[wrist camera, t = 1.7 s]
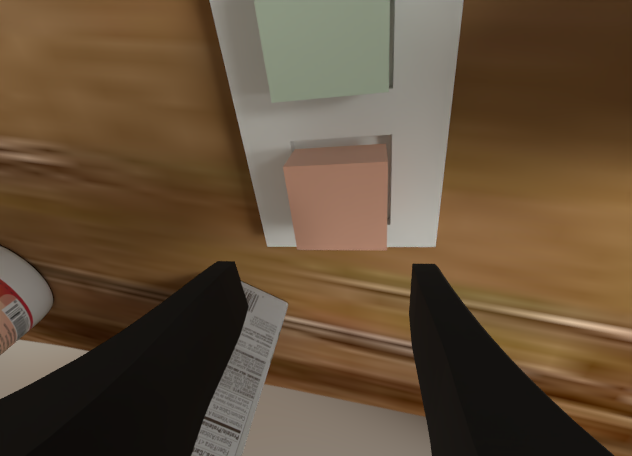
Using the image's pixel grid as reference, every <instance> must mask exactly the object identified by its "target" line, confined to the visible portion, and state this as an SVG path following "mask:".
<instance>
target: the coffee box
mask: <svg viewBox="0 0 632 456" xmlns="http://www.w3.org/2000/svg"><path fill="white" fill-rule="evenodd" d="M241 283H242V287H243V290H244V293H245V296H246V299H247V303H248V306H249V308H248V311H247V315H246V318H245V322H244V325H243V328H242V331H241V335H240V337H239V339H238V342H237V344H236V346H235V349H234V351H233V353H232V355H231V358H230V360H229V362H228V364H227V367H226V369H225V371H224V373H223V376H222V378H221V380H220V382H219V384H218V387H217V389H216V391H215V393H214V396H213V398H212V400H211V402H210V405H209V407H208V410H207V412H206V415H205V417H204V420H203V423H202V425H201V428H200V431H199V434H198V437H197V440H196V443H195V446H194V449H193V452H192V455H191V456H242V453H243V450H244V447H245V443H246V440H247V437H248V434H249V431H250V427H251V424H252V421H253V417H254V414H255V411H256V408H257V404H258V402H259V398H260V395H261V392H262V388H263V385H264V382H265V379H266V376H267V372H268V369H269V366H270V363H271V359H272V356H273V353H274V350H275V346H276V343H277V340H278V337H279V334H280V331H281V327H282V324H283V321H284V317H285V314H286V311H287V307H288V303H287V302H285V301H283V300H281V299H278V298H276V297H274V296H272V295H270V294H268V293H265V292H263V291H261V290H259V289H257V288H255V287H252V286H250V285H248V284H246V283H244V282H241Z"/></svg>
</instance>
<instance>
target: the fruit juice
mask: <svg viewBox="0 0 632 456" xmlns="http://www.w3.org/2000/svg"><path fill="white" fill-rule="evenodd" d="M52 305H53V295H52V292H51V289H50V287H49V286H48V284H47V282H46V281H45V280H44V278H43V277H42V276H41V275H40V274H39V272H38V271H37V270H36V269H35V268H33V267H32V266H31V265H30V264H29V263H28V262H26V261H25V260H24V259H22V258H21V257H19V256H18V255H16V254H15V253H13V252H11V251H10V250H8V249H6V248H4V247H2V246H0V355H1V354H2V353H4V352H5V351H6V350H7V349H8V348H9V347H10V346H12V345H13V344H14V343H15V342H16V341H17V340H19V339H20V338H21V337H22V336H23V335H24V334H25V333H27V332H28V331H29V330H30V329H31V328H32V327H34V326H35V325H36V324H37V323H38V322H39V321H40V320H42V319H43V317H44V316H45V315H46V314H47V313H48V312H49V310H50V309H51V307H52Z"/></svg>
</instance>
